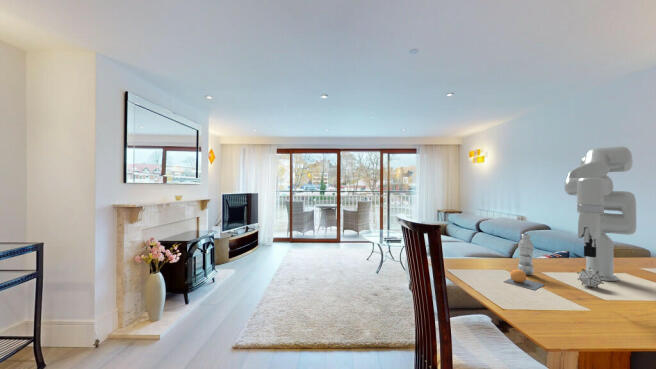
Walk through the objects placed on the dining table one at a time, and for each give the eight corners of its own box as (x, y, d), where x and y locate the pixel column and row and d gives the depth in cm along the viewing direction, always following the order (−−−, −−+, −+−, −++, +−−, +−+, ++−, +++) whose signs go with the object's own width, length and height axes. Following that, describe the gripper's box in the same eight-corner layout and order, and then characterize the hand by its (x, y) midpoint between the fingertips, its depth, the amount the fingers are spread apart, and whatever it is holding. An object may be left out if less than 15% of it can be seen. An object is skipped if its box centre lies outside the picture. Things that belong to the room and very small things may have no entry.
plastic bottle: (530, 272, 139) (530, 233, 139) (535, 277, 132) (536, 236, 132) (515, 271, 141) (516, 233, 141) (520, 275, 134) (520, 235, 134)
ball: (531, 276, 123) (520, 283, 126) (519, 265, 126) (509, 272, 129) (527, 279, 119) (516, 286, 122) (516, 267, 122) (505, 275, 125)
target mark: (514, 277, 132) (514, 276, 132) (545, 284, 122) (545, 284, 122) (503, 281, 125) (503, 281, 125) (534, 290, 115) (534, 289, 115)
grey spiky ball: (596, 296, 118) (614, 283, 112) (575, 288, 120) (592, 274, 114) (587, 281, 125) (604, 267, 120) (568, 273, 127) (583, 259, 121)
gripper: (582, 208, 113) (582, 252, 113) (571, 209, 104) (571, 257, 104) (608, 209, 106) (608, 256, 106) (598, 211, 98) (598, 261, 98)
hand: (590, 256), depth 105 cm, fingers closed
